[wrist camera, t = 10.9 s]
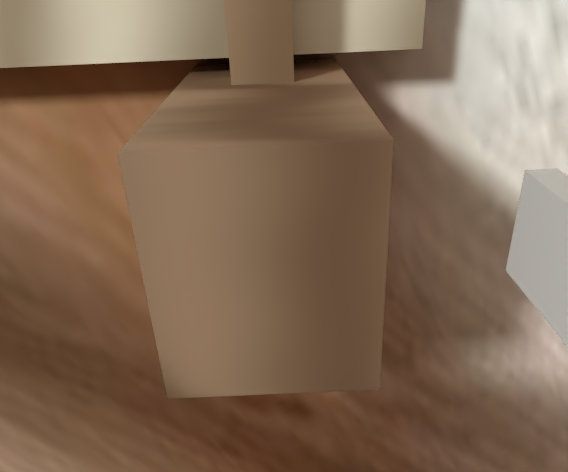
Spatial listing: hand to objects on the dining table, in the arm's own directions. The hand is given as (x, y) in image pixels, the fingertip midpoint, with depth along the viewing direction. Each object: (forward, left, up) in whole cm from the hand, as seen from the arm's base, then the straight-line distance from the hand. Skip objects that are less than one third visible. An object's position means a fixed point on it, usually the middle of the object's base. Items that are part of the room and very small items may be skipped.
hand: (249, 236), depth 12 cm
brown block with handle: (0, +3, -8) cm, 9 cm away
